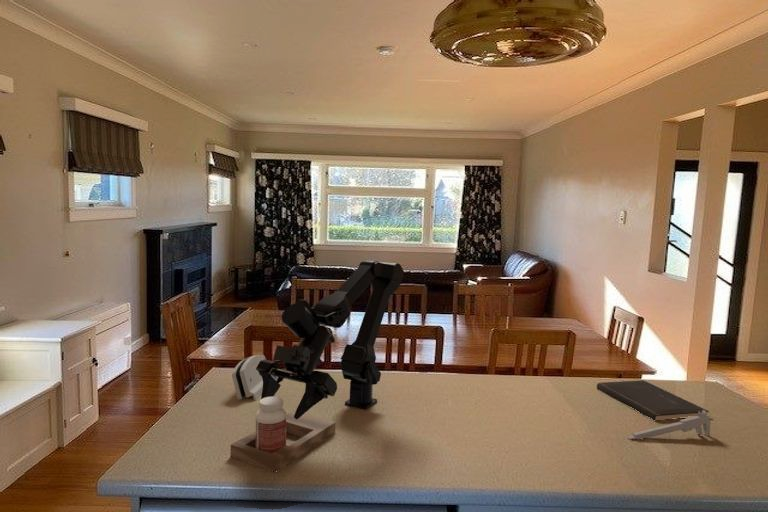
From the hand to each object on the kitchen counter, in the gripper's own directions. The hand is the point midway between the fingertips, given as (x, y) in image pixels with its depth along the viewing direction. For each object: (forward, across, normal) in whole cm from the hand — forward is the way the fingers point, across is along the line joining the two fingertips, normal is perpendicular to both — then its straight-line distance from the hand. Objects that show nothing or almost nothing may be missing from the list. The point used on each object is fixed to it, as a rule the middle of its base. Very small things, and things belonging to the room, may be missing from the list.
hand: (278, 413), depth 103 cm
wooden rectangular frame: (+4, 0, +7) cm, 8 cm away
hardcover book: (-45, +68, +59) cm, 101 cm away
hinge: (-11, -29, +23) cm, 38 cm away
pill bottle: (+7, 0, +4) cm, 8 cm away
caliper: (-30, +73, +43) cm, 90 cm away
